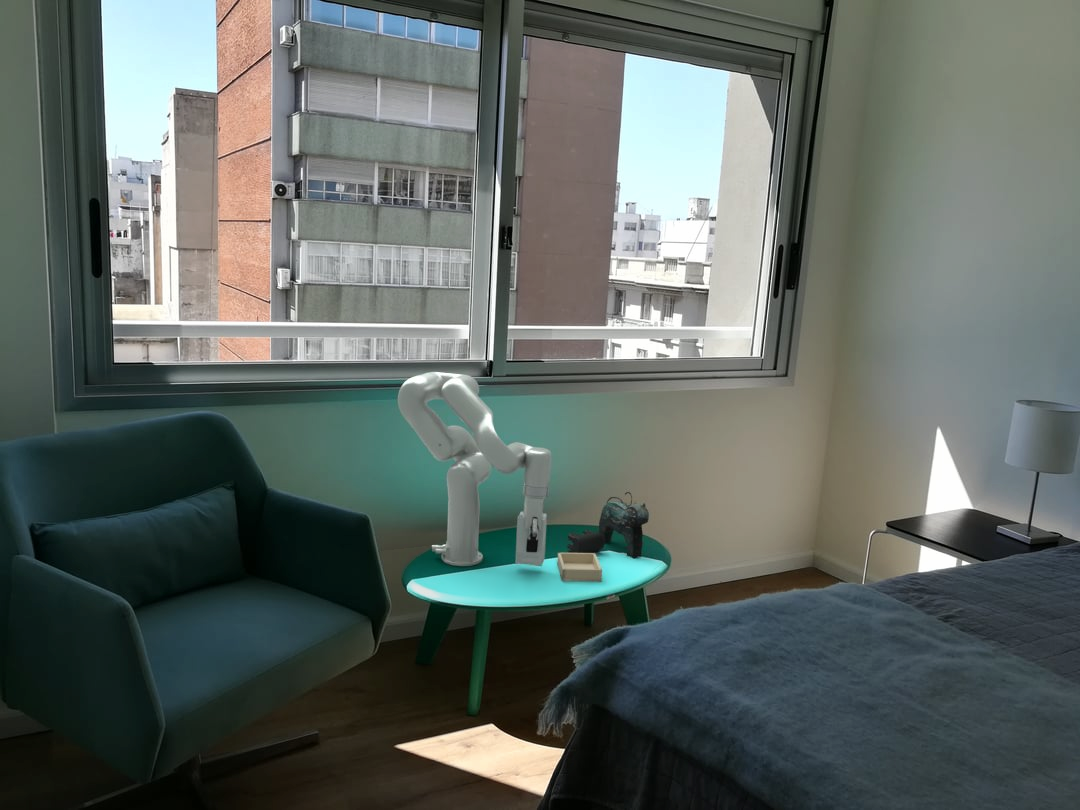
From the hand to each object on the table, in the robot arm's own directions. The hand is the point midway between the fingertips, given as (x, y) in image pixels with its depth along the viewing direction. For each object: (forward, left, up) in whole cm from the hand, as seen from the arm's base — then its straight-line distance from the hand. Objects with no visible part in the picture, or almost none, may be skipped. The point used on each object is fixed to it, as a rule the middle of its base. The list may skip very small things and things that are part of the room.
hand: (530, 546), depth 255 cm
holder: (+15, 0, -8) cm, 17 cm away
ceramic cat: (+31, +20, -8) cm, 37 cm away
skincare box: (0, 0, -5) cm, 5 cm away
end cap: (+19, +16, -8) cm, 26 cm away
